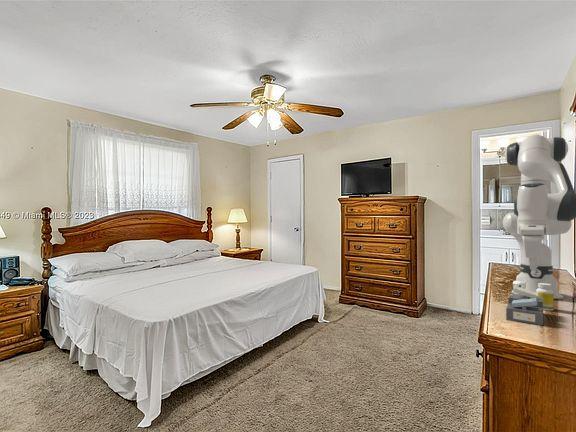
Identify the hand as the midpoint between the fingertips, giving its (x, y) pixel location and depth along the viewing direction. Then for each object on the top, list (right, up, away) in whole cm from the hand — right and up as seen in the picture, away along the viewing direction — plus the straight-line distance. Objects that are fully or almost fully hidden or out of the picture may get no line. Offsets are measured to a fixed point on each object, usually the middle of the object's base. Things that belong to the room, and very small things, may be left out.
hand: (533, 269), depth 111 cm
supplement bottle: (+16, -18, +15) cm, 28 cm away
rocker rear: (+4, -10, +9) cm, 14 cm away
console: (+1, -18, +5) cm, 19 cm away
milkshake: (+13, -18, +24) cm, 33 cm away
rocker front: (-2, -12, +2) cm, 12 cm away
